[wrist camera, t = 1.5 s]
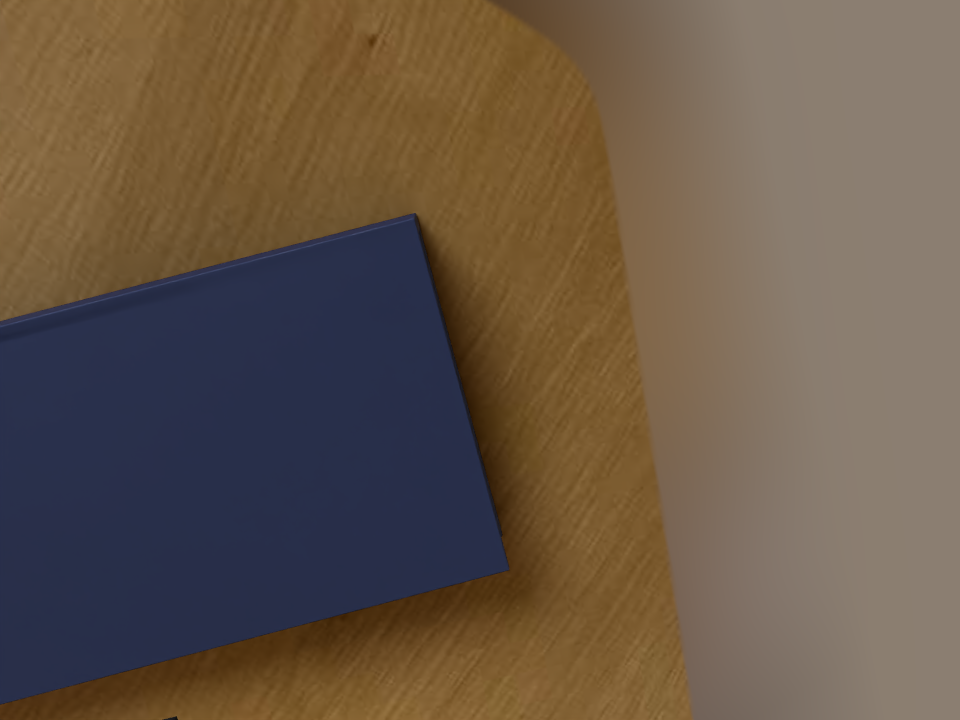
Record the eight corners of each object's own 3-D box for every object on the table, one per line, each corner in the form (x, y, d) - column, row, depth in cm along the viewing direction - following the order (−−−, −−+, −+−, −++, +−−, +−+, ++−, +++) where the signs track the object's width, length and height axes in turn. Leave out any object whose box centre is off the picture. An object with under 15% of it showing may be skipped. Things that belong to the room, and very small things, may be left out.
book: (415, 212, 27) (414, 217, 24) (501, 532, 30) (510, 570, 27) (-238, 383, 26) (-320, 409, 24) (-79, 685, 30) (-134, 740, 27)
